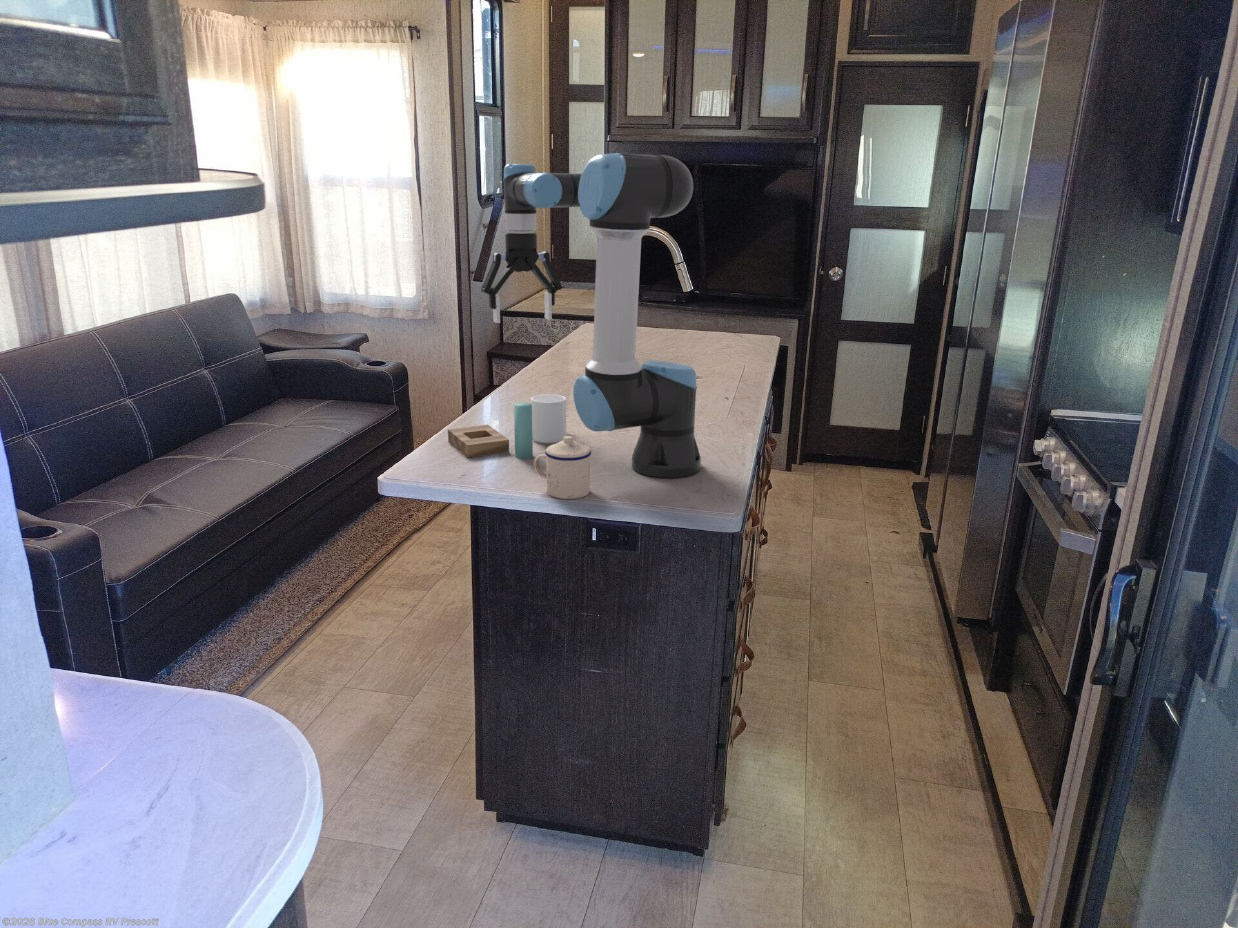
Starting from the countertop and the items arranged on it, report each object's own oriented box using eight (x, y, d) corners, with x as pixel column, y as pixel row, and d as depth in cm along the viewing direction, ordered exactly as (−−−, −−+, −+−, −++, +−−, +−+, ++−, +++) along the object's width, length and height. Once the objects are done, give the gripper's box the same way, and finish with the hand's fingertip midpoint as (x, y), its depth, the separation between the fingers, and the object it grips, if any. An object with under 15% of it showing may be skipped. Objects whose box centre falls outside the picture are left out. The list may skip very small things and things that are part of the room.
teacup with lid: (597, 488, 179) (597, 433, 175) (580, 502, 171) (580, 445, 167) (543, 480, 183) (543, 427, 179) (525, 494, 175) (524, 438, 171)
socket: (509, 452, 201) (508, 439, 200) (467, 457, 196) (466, 445, 195) (488, 436, 213) (487, 424, 212) (448, 441, 208) (447, 429, 207)
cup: (525, 441, 209) (524, 400, 206) (549, 428, 220) (548, 389, 217) (556, 445, 206) (556, 404, 203) (578, 433, 217) (578, 393, 214)
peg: (535, 457, 198) (534, 405, 194) (519, 459, 196) (517, 407, 192) (528, 452, 201) (527, 401, 197) (512, 454, 199) (511, 403, 195)
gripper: (562, 230, 218) (562, 315, 225) (465, 231, 207) (469, 321, 214) (574, 232, 212) (575, 319, 218) (476, 233, 201) (479, 326, 207)
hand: (522, 320), depth 216 cm, fingers open, 13 cm apart
